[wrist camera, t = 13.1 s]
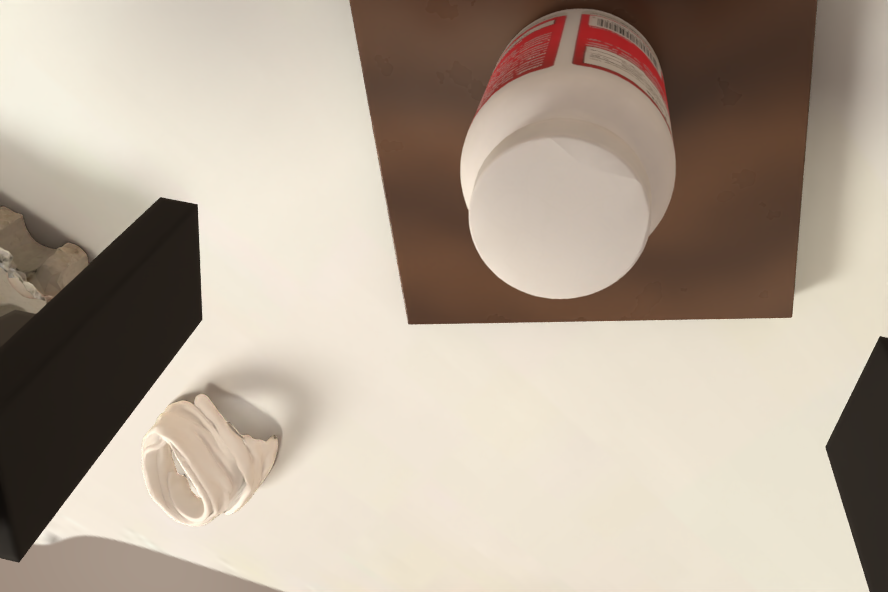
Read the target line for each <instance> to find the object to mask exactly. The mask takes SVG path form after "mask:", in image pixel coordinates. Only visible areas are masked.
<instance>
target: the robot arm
mask: <svg viewBox="0 0 888 592" xmlns="http://www.w3.org/2000/svg"><path fill="white" fill-rule="evenodd" d="M201 321H202V299H201V275H200V251H199V226H198V204H192V203H187V202H182V201H177V200H172V199H167V198H161V197H160V198H159V199H158V200H157V201H156V202H155V203H154V204H153V205H152V206H151V207H150V208H149V209H147V210H146V211H145V212H144V213H143V214H142V215H141V216H140V217H139V218H138V219H137V220H136V221H135V222H134V223H133V224H131V225H130V226H129V227H128V228H127V229H126V230H125V231H124V232H123V233H122V234H121V235H120V236H119V237H118V238H117V239H115V240H114V241H113V242H112V243H111V244H110V245H109V246H108V247H107V248H106V249H105V250H104V251H103V252H102V253H101V254H99V255H98V256H97V257H96V258H95V259H94V260H93V261H92V262H91V263H90V264H89V265H88V266H87V267H86V268H85V269H83V270H82V271H81V272H80V273H79V274H78V275H77V276H76V277H75V278H74V279H73V280H72V281H71V282H70V283H69V284H67V285H66V286H65V287H64V288H63V289H62V290H61V291H60V292H59V293H58V294H57V295H56V296H55V297H54V298H53V299H51V300H50V301H49V302H48V303H47V304H46V305H45V306H44V307H43V308H42V309H41V310H40V311H39V312H38V313H37V314H34V313H29V312H24V311H20V310H13V311H11V312H9V313H7V314H5V315H3V316H1V317H0V558H2V559H6V560H11V561H15V562H20V560H21V559H22V558H23V557H24V555H25V554H26V553H27V551H28V550H29V549H30V547H31V546H32V545H33V543H34V542H35V541H36V539H37V538H38V537H39V535H40V534H41V533H42V531H43V530H44V529H45V527H46V526H47V525H48V524H49V522H50V521H51V520H52V518H53V517H54V516H55V514H56V513H57V512H58V510H59V509H60V508H61V506H62V505H63V504H64V502H65V501H66V500H67V498H68V497H69V496H70V494H71V493H72V492H73V490H74V489H75V488H76V486H77V485H78V484H79V482H80V481H81V480H82V478H83V477H84V476H85V474H86V473H87V472H88V470H89V469H90V468H91V466H92V465H93V464H94V463H95V461H96V460H97V459H98V457H99V456H100V455H101V453H102V452H103V451H104V449H105V448H106V447H107V445H108V444H109V443H110V441H111V440H112V439H113V437H114V436H115V435H116V433H117V432H118V431H119V429H120V428H121V427H122V425H123V424H124V423H125V421H126V420H127V419H128V417H129V416H130V415H131V413H132V412H133V411H134V409H135V408H136V407H137V405H138V404H139V403H140V401H141V400H142V399H143V398H144V396H145V395H146V394H147V392H148V391H149V390H150V388H151V387H152V386H153V384H154V383H155V382H156V380H157V379H158V378H159V376H160V375H161V374H162V372H163V371H164V370H165V368H166V367H167V366H168V364H169V363H170V362H171V360H172V359H173V358H174V356H175V355H176V354H177V352H178V351H179V350H180V348H181V347H182V346H183V344H184V343H185V342H186V340H187V339H188V338H189V337H190V335H191V334H192V333H193V331H194V330H195V329H196V327H197V326H198V325H199V323H200V322H201ZM826 451H827V454H828V457H829V460H830V464H831V467H832V470H833V473H834V477H835V480H836V483H837V486H838V490H839V493H840V496H841V499H842V503H843V506H844V509H845V512H846V516H847V519H848V522H849V526H850V529H851V532H852V535H853V539H854V542H855V545H856V548H857V552H858V555H859V558H860V561H861V565H862V568H863V571H864V574H865V578H866V581H867V584H868V587H869V591H870V592H888V338H886V337H881V336H880V337H879V339H878V341H877V343H876V345H875V347H874V349H873V351H872V353H871V355H870V357H869V359H868V361H867V363H866V366H865V368H864V370H863V372H862V374H861V376H860V378H859V380H858V382H857V384H856V386H855V388H854V390H853V392H852V394H851V396H850V398H849V400H848V402H847V404H846V406H845V408H844V410H843V412H842V414H841V416H840V418H839V420H838V422H837V424H836V426H835V428H834V430H833V432H832V435H831V437H830V439H829V441H828V443H827V445H826Z"/></svg>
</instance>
